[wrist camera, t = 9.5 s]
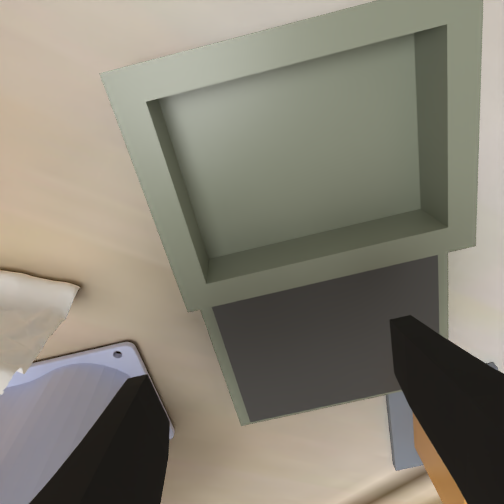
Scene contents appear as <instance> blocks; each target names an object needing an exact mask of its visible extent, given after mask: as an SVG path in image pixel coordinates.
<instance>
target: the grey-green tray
mask: <svg viewBox="0 0 504 504" xmlns="http://www.w3.org/2000/svg"><path fill="white" fill-rule="evenodd" d="M482 24H483V0H377V1H373V2H369V3H366V4H362V5H358V6H354V7H350V8H347V9H343V10H339V11H335V12H331V13H328V14H324V15H320V16H316V17H312V18H309V19H305V20H301V21H297V22H293V23H290V24H286V25H282V26H278V27H274V28H271V29H267V30H263V31H259V32H255V33H252V34H248V35H244V36H240V37H236V38H233V39H229V40H225V41H221V42H217V43H214V44H210V45H206V46H202V47H198V48H195V49H191V50H187V51H183V52H179V53H176V54H172V55H168V56H164V57H160V58H157V59H153V60H149V61H145V62H141V63H137V64H134V65H130V66H126V67H122V68H118V69H115V70H111V71H107V72H103V73H99V74H100V76H101V79H102V82H103V85H104V87H105V90H106V93H107V95H108V98H109V101H110V103H111V106H112V109H113V112H114V114H115V117H116V120H117V122H118V125H119V128H120V130H121V133H122V136H123V139H124V141H125V144H126V147H127V149H128V152H129V155H130V157H131V160H132V163H133V166H134V168H135V171H136V174H137V176H138V179H139V182H140V184H141V187H142V190H143V192H144V195H145V198H146V201H147V203H148V206H149V209H150V211H151V214H152V217H153V219H154V222H155V225H156V228H157V230H158V233H159V236H160V238H161V241H162V244H163V246H164V249H165V252H166V255H167V257H168V260H169V263H170V265H171V268H172V271H173V273H174V276H175V279H176V282H177V284H178V287H179V290H180V292H181V295H182V298H183V300H184V303H185V306H186V309H187V311H188V312H192V311H197V310H201V313H202V316H203V319H204V321H205V324H206V327H207V330H208V333H209V336H210V338H211V341H212V344H213V347H214V350H215V353H216V356H217V358H218V361H219V364H220V367H221V370H222V373H223V375H224V378H225V381H226V384H227V387H228V390H229V393H230V395H231V398H232V401H233V404H234V407H235V410H236V412H237V415H238V418H239V421H240V424H241V426H244V425H248V424H253V423H257V422H262V421H267V420H271V419H276V418H281V417H285V416H290V415H294V414H299V413H304V412H308V411H313V410H318V409H322V408H327V407H332V406H336V405H341V404H345V403H350V402H355V401H359V400H364V399H369V398H373V397H378V396H382V395H387V394H392V393H396V392H401V391H402V389H401V387H400V385H399V383H398V381H397V378H396V376H395V374H394V367H393V355H392V344H391V333H390V321H389V320H390V319H394V318H399V317H403V316H408V315H411V316H413V317H415V318H416V319H418V320H419V321H421V322H422V323H424V324H425V325H427V326H428V327H430V328H431V329H433V330H434V331H436V332H437V333H438V334H440V335H441V336H443V337H445V338H446V339H448V252H452V251H456V250H461V249H465V248H469V247H474V246H476V219H477V186H478V154H479V121H480V89H481V56H482Z"/></svg>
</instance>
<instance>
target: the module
mask: <svg viewBox="0 0 504 504" xmlns="http://www.w3.org/2000/svg"><path fill="white" fill-rule="evenodd" d="M412 412H413V411H412ZM413 429H414V447H415V449H416V451H417V453H418V455H419V457H420V459H421V461H422V463H423V465H424V467H425V469H426V471H427V473H428V475H429V477H430V479H431V481H432V482H433V484H434V486H435V488H436V490H437V492H438V494H439V496H440V498H441V500H442V502H443V504H467V502H466V500H465V499H464V497H463V495H462V493H461V491H460V490H459V488H458V486H457V484H456V483H455V481H454V479H453V478H452V476H451V474H450V473H449V471H448V469H447V468H446V466H445V464H444V463H443V461H442V459H441V458H440V456H439V455H438V453H437V451H436V450H435V448H434V446H433V445H432V443H431V441H430V440H429V438H428V436H427V435H426V433H425V431H424V430H423V428H422V426H421V425H420V423H419V421H418V420H417V418H416V416H415V415H414V413H413Z"/></svg>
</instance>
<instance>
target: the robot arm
mask: <svg viewBox="0 0 504 504" xmlns="http://www.w3.org/2000/svg"><path fill="white" fill-rule="evenodd" d="M389 321H390V333H391V344H392V355H393V367H394V374H395V376H396V378H397V381H398V383H399V385H400V387H401V389H402V392H403V394H404V396H405V398H406V400H407V402H408V404H409V406H410V408H411V410H412V411H413V413H414V415H415V416H416V418H417V420H418V421H419V423H420V425H421V426H422V428H423V430H424V431H425V433H426V435H427V436H428V438H429V440H430V441H431V443H432V445H433V446H434V448H435V450H436V451H437V453H438V455H439V456H440V458H441V459H442V461H443V463H444V464H445V466H446V468H447V469H448V471H449V473H450V474H451V476H452V478H453V479H454V481H455V483H456V484H457V486H458V488H459V490H460V491H461V493H462V495H463V497H464V499H465V500H466V502H467V504H504V374H503V373H501V372H500V371H498V370H496V369H494V368H493V367H491V366H489V365H487V364H486V363H484V362H482V361H481V360H479V359H478V358H476V357H474V356H473V355H471V354H469V353H468V352H466V351H465V350H463V349H461V348H460V347H458V346H457V345H455V344H454V343H452V342H451V341H449V340H448V339H446V338H445V337H443V336H441V335H440V334H438V333H437V332H436V331H434V330H433V329H431V328H430V327H428V326H427V325H425V324H424V323H422V322H421V321H419V320H418V319H416V318H415V317H413V316H411V315H408V316H403V317H399V318H394V319H390V320H389ZM115 351H119V352H121V353H122V354H118V353H116V352H115ZM3 391H4V393H3V394H2V395H1V394H0V504H160V502H161V497H162V491H163V485H164V479H165V473H166V467H167V461H168V451H169V440H170V439H172V438H173V437H174V432H175V430H174V427H173V425H172V423H171V421H170V419H169V417H168V415H167V412H166V410H165V408H164V406H163V404H162V402H161V400H160V397H159V395H158V393H157V391H156V389H155V387H154V385H153V382H152V380H151V378H150V376H149V374H148V372H147V370H146V367H145V365H144V363H143V361H142V359H141V357H140V355H139V352H138V350H137V348H136V346H135V345H134V344H132V343H130V342H123V343H118V344H114V345H110V346H105V347H101V348H97V349H92V350H88V351H84V352H79V353H75V354H70V355H66V356H62V357H57V358H53V359H49V360H44V361H40V362H36V363H32V364H31V366H30V367H29V368H28V370H27V372H26V373H25V374H22V373H20V372H17V371H16V372H15V373H14V375H13V376H12V379H11V380H10V381H9V383H8V385H7V387H6V388H5V389H4V390H3Z"/></svg>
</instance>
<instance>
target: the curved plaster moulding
mask: <svg viewBox="0 0 504 504" xmlns="http://www.w3.org/2000/svg"><path fill="white" fill-rule="evenodd" d="M79 288H81V287H79V286H77V285H74V284H71V283H67V282H61V281H53V280H48V279H44V278H38V277H33V276H30V275H27V274H23V273H17V272H10V271H3V270H0V394H1V395H2V394H3V393H4V391H3V390H4V389H5V388H6V387H7V385H8V383H9V381H10V380H11V379H12V376H13V375H14V373H15V372H16V371H17V372H20V373H22V374H25V373H26V372H27V370H28V368H29V367H30V366H31V364H32V363H33V361H34V360H35V357H36V356H37V355H38V354H39V353H40V352H41V350H42V349H43V347H44V344H45V343H46V341H47V339H48V338H49V337H50V336H51V335H53V333H54V331H55V330H56V328H57V327H58V326H59V325H60V324H61V322H62V321H64V320H65V319H66V317H67V315H68V312H69V309H70V307H71V304H72V303H73V299H74V298H75V296H76V294H77V291H78V289H79ZM81 289H82V288H81Z"/></svg>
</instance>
